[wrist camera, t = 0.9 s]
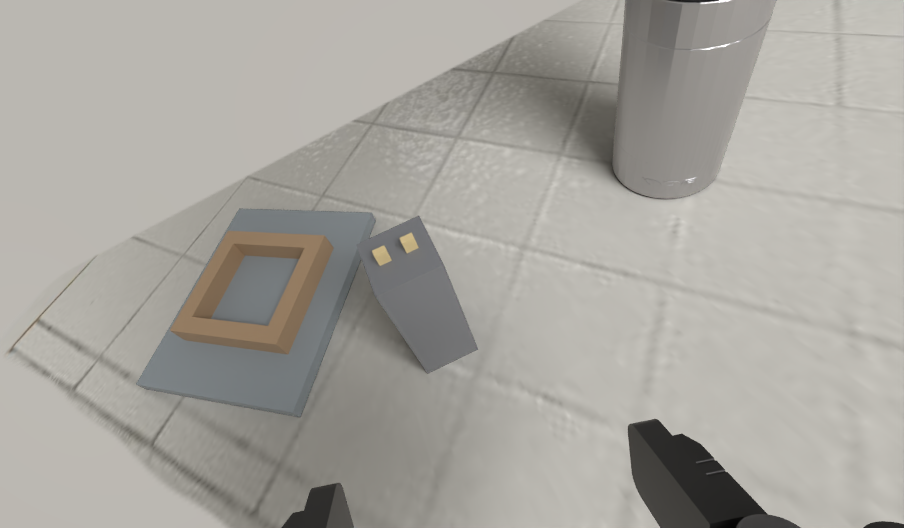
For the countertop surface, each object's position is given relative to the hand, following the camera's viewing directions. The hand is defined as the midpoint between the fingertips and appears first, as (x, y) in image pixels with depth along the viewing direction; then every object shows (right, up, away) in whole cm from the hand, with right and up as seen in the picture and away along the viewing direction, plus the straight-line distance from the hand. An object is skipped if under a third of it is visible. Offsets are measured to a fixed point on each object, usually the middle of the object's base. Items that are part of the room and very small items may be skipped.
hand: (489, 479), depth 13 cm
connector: (-2, 0, +25) cm, 26 cm away
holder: (-18, +3, +32) cm, 37 cm away
